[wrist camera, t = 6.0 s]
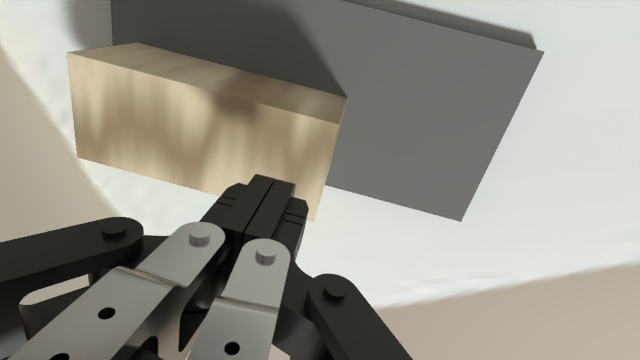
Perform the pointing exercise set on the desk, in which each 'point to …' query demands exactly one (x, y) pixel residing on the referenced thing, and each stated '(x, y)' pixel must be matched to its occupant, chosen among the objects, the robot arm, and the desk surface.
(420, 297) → the desk surface
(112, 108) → the birch block
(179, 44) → the rubber mat
